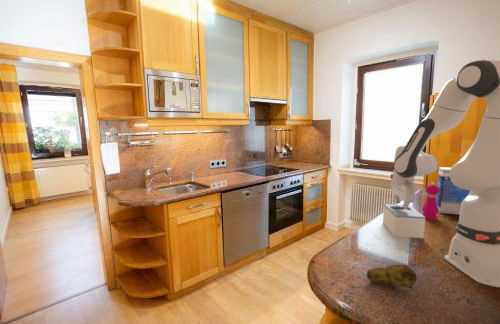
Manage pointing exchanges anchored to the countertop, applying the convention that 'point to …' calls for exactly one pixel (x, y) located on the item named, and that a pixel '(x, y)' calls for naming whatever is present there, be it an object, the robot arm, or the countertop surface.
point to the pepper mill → (431, 202)
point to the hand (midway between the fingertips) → (401, 206)
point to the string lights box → (449, 193)
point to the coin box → (403, 221)
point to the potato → (393, 276)
